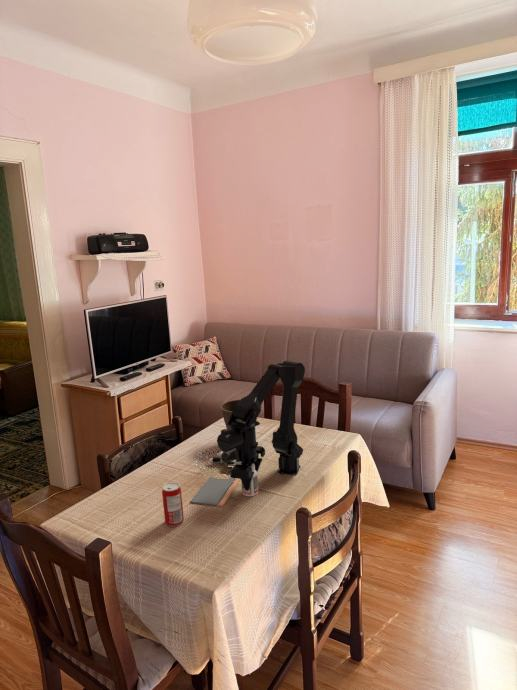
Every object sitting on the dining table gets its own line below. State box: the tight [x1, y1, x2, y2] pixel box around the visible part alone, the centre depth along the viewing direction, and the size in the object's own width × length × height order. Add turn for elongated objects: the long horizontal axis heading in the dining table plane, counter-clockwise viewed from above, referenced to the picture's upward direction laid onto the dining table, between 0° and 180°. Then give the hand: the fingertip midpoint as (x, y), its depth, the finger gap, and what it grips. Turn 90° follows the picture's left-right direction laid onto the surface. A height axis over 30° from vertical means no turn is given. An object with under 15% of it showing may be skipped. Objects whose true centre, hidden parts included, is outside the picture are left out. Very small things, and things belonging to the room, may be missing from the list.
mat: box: [189, 477, 236, 507], centre depth 165 cm, size 9×20×1 cm, turn 163°
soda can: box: [161, 481, 185, 527], centre depth 145 cm, size 6×6×12 cm
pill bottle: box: [240, 464, 259, 497], centre depth 160 cm, size 5×5×10 cm
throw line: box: [218, 478, 241, 508], centre depth 163 cm, size 1×20×1 cm, turn 163°
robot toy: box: [208, 450, 241, 467], centre depth 182 cm, size 12×4×15 cm
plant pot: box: [220, 399, 258, 429], centre depth 199 cm, size 15×15×16 cm
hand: (249, 485), depth 160 cm, fingers closed on pill bottle, 5 cm apart
